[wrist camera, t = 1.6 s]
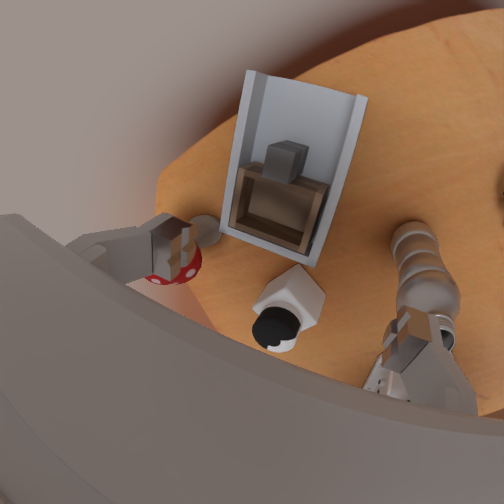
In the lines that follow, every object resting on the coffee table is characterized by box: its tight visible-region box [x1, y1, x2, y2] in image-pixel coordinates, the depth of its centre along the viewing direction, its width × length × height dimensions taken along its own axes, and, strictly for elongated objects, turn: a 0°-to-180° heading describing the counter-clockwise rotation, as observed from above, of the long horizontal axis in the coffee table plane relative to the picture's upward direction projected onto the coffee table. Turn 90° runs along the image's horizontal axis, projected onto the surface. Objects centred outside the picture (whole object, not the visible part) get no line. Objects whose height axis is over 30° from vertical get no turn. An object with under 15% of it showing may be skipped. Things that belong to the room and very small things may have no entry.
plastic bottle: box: [390, 221, 461, 352], centre depth 25 cm, size 6×7×20 cm
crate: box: [229, 140, 329, 254], centre depth 33 cm, size 12×10×7 cm
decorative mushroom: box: [145, 215, 222, 285], centre depth 40 cm, size 10×9×15 cm
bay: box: [219, 70, 368, 268], centre depth 33 cm, size 22×14×5 cm, turn 169°
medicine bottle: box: [252, 264, 326, 352], centre depth 39 cm, size 7×7×12 cm
